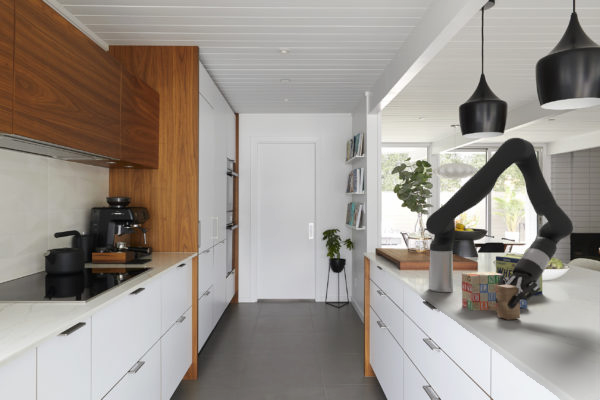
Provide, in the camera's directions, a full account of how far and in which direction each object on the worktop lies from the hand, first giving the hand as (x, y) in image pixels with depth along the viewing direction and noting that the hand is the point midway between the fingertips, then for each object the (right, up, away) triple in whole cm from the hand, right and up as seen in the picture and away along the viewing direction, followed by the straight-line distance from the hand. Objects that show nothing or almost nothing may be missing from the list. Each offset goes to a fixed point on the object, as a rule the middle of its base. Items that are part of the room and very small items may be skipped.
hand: (503, 305), depth 123 cm
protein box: (+26, -5, +36) cm, 45 cm away
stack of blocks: (+5, -5, +15) cm, 17 cm away
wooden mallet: (+1, -4, +3) cm, 5 cm away
